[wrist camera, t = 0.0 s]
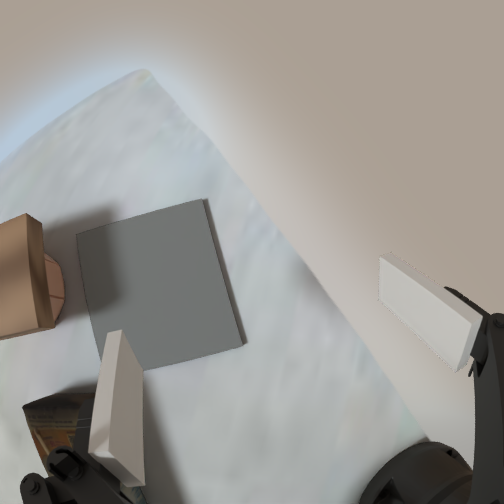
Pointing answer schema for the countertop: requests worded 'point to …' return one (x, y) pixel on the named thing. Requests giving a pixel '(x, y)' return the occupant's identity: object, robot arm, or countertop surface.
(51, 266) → the pot
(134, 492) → the beverage carton
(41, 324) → the lid
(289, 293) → the countertop surface
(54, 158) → the countertop surface
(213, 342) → the mat
